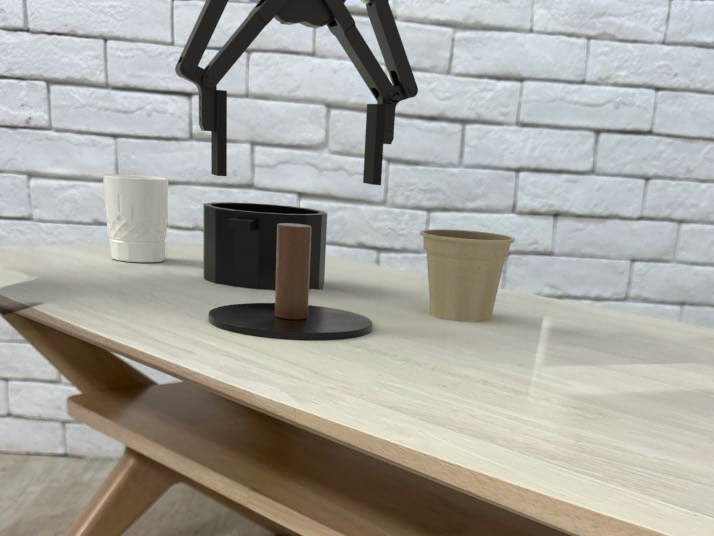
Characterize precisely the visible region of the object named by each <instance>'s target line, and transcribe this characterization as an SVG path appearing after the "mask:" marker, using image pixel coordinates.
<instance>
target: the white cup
mask: <svg viewBox="0 0 714 536" xmlns="http://www.w3.org/2000/svg"><path fill="white" fill-rule="evenodd" d="M102 182H103V195H104V196H103V197H104V209H105V220H106V229H107V236H108V238H109V240H108V242H109V243H108V244H109V255H110V256H109V257H110V258H111V260H116V261H122V262H130V263H141V264H142V263H160V262H164V261H165V260H166V241H165V240H166V239H167V233H168V232H167V231H168V229H167V226H168V209H169V178H167V177H160V176H154V175H153V176H152V175H142V174H141V175H140V174H126V173H103V174H102Z"/></svg>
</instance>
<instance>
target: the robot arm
mask: <svg viewBox="0 0 714 536" xmlns="http://www.w3.org/2000/svg"><path fill="white" fill-rule="evenodd" d="M229 1H230V0H205V1H204V4H203V6H202V9H201V10H200V12H199V15H198V17H197V19H196V21H195V23H194V25H193V28H192V30H191V32H190V35H189V37H188V39H187V41H186V43H185V45H184V47H183V49H182V51H181V53H180V56H179V58H178V60H177V62H176V64H175V67H174V71H175V73H176V76H178V77H179V78H181V79H184V80H186V81H188V82H189V83H192V84H193V85H194V86H196V88H197V91H198V125H199V128H200V131H203V132H211V133H210V134H211V137H210V138H211V139H210V143H211V145H210V146H211V150H210V151H211V157H210V159H211V163H210V164H211V165H210V166H211V172H210V173H211V175H213V176H217V177H227V176H228V175H227V174H228V173H227V172H228V148H227V147H228V129H227V128H228V91H227V90H223V89H217V87H218V86H217V85H218V84H220V82H221V81H222V79H223V78H224V77H225V76H226V75H227V74H228V73H229V71H230V70H231V69H232V68H233V66H234V65H235V64H236V63H237V61H238V60H239V59H240V58H241V57H242V56H243V54H244V53H245V52H246V51H247V49H248V48H249V47H250V46H251V45H252V43H253V42H254V41H255V40H256V38H257V37H259V35H260V33H261V32H262V31H264V29H265V28H266V26H267V25H268V24H270V23H271V22H272V20H273V19H275V21H277V22H279V23H280V25H285V26H286V25H287V26H292V25H298V24H299V25H302V26H304V27H307V28H313V29H318V28H322V27H325V26H326V27H327V28H328V30H329V32H330V33H331V34H332V35H333V36H334V37H335V38H336V40H337V41H338V43H339V44H340V46H341V47H342V50H344V52H345V54H346V55H347V57H348V58H349V60H350V61H351V63H352V64H353V66H354V68H355V69H356V71H357V73H358V74H359V76H360V77H361V78H362V80H363V82H364V83H365V85H366V87H367V89H368V90H369V92H370V93H371V95H372V96H373V97H374V99H375V101H376V103H366V114H365V115H366V116H365V118H366V119H365V136H364V154H363V155H364V156H363V157H364V158H363V161H364V162H363V176H362V184H368V185H372V186H382V176H383V175H382V173H383V159H384V157H383V156H384V145H392V143H393V141H394V138H395V137H394V136H395V122H396V121H395V120H396V107H397V105H398V104H399V103H400V102H402V101H405V100H408V99H412V98H416V96H417V94H418V93H419V87H418V85H417V81H416V78H415V76H414V73H413V70H412V66H411V64H410V60H409V58H408V55H407V51H406V49H405V47H404V43H403V40H402V38H401V34H400V32H399V29H398V26H397V23H396V20H395V17H394V14H393V11H392V8H391V4H390V2H389V0H360V2H361V3H363V4H365V8H366V12H367V15H368V16H367V17H368V19H369V22H370V25H371V27H372V30H373V33H374V36H375V39H376V41H377V44H378V47H379V50H380V53H381V56H382V57H383V58H382V59H383V61H384V64H385V67H386V71H387V72H388V75H389V77H388V75H387V74H386V72H385V70H384V69H383V68H382V66H381V64H380V63H379V61H378V60H377V57H376V56H375V55H374V53H373V52H372V50H371V48H370V46H369V44H368V43H367V42H366V39H364V37H363V35H362V33H361V32H360V31H359V28H358V27H357V25H356V21H355V19H354V17H353V16H352V14H351V12H350V11H349V9H348V8H347V6H346V4H345V3H346V1H347V0H258V2H257V3H256V5H255V6H254V7H253V8H252V9H251V11H250V12H249V13H248V15H247V16H246V18H245V19H244V20H243V21H242V22H241V24H240V25H239V26H238V27H237V29H236V30H235V31H234V32H233V33H232V34H231V36H230V37H229V38H228V39H227V41H226V42H225V43H224V45H223V46H222V47H220V49H219V50H218V52H216V54H215V55H214V56H213V58H212V59H211V60H210V61H209V62H208V64H207V65H206V66H205V67H204V68H203V67H201V66H200V63H201V60H202V58H203V56H204V54H205V52H206V49H207V47H208V45H209V43H210V41H211V39H212V37H213V35H214V33H215V30H216V28H217V26H218V24H219V22H220V20H221V17H222V16H223V13H224V12H225V9H226V7H227V5H228V2H229ZM389 78H390V79H389Z"/></svg>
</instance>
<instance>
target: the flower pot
mask: <svg viewBox="0 0 714 536" xmlns="http://www.w3.org/2000/svg"><path fill="white" fill-rule="evenodd" d="M419 235H420V236H422V237H423V238H422V239H423V249H424V251H425V252H426V264H427V265H426V266H427V278H428V279H427V281H428V295H429V298H428V300H429V311H430V312H429V315H430V316H432V317H434V318H437V319H441V320H445V321H453V322H462V323H484V322H485V323H486V322H490V321H491V320H492V316H493V313H494V308H495V304H496V299H497V294H498V290H499V286H500V281H501V277H502V272H503V269H504V265H505V261H506V259H507V257H508V256H509V253H510V248H511V244H513V243H515V242H516V241H515V240H516V239H515V237H514V236H511V235H507V234H502V233H495V232H486V231H478V230H466V229H451V228H450V229H449V228H448V229H447V228H443V229H439V228H436V229H435V228H434V229H433V228H432V229H430V228H429V229H422V230H420V231H419Z"/></svg>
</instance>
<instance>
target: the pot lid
mask: <svg viewBox="0 0 714 536" xmlns="http://www.w3.org/2000/svg"><path fill="white" fill-rule="evenodd" d="M310 251H311V226H309V225H303V224H292V223H279V224H277V247H276V284H275V290H274V296H275V297H274V302H247V303H246V302H245V303H234V304H233V303H232V304H226V305H222V306H217V307H215V308H212V309H210V310H209V311H208V312H207V313H208V315H207V316H208V322H209V323H210V324H211V325H213V326H214V327H217V328H220V329H222V330H226V331H229V332H233V333H237V334H243V335H248V336H255V337H262V338H270V339H271V338H273V339H283V340H286V339H287V340H301V341H302V340H304V341H305V340H306V341H308V340H309V341H325V340H327V341H328V340H342V339H343V340H344V339H351V338H357V337H362V336H365V335H368V334H369V333H370V332H372V330H373V321H372V319H370V318H369V317H366V316H365V315H363V314H359V313H357V312H353V311H349V310H344V309H339V308H333V307H327V306H320V305H313V304H309V299H310V298H309V297H310V289H309V276H310Z"/></svg>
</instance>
